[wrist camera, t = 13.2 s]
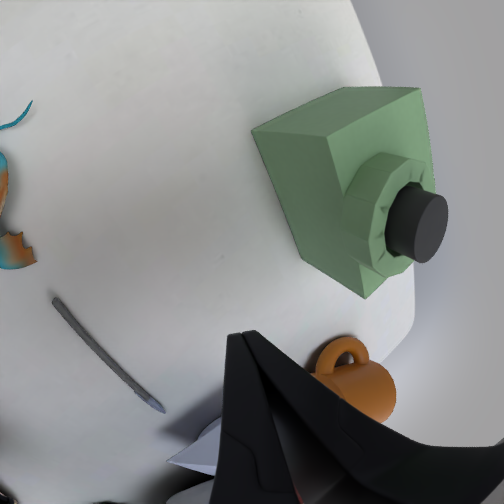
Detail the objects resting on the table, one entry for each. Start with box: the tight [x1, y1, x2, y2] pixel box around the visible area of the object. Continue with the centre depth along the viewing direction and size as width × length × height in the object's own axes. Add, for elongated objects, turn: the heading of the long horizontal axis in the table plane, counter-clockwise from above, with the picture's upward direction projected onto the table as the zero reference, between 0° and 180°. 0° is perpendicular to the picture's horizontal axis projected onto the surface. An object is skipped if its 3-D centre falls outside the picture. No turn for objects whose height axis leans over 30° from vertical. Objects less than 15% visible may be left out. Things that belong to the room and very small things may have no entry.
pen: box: [51, 298, 166, 414], centre depth 19 cm, size 1×1×14 cm
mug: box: [310, 337, 396, 423], centre depth 31 cm, size 9×12×9 cm
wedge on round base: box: [167, 417, 221, 476], centre depth 25 cm, size 9×7×13 cm
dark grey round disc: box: [384, 186, 448, 263], centre depth 14 cm, size 4×4×2 cm
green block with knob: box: [251, 87, 436, 299], centre depth 19 cm, size 10×11×9 cm
